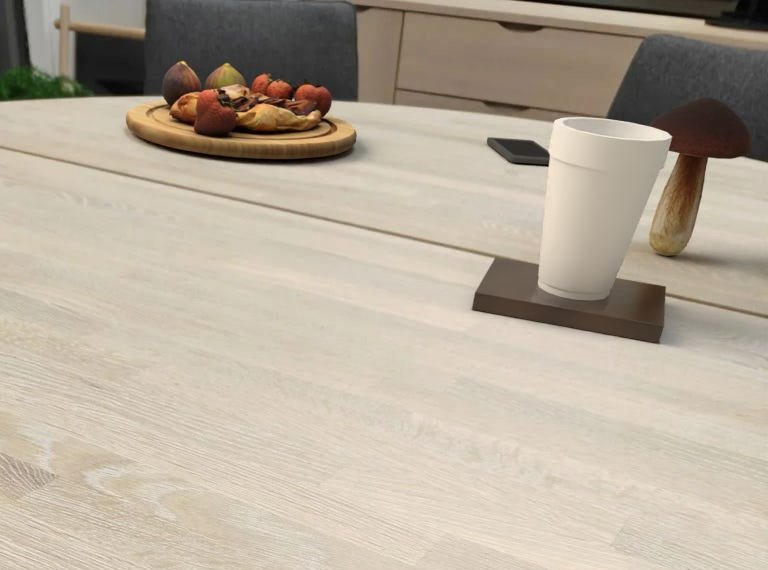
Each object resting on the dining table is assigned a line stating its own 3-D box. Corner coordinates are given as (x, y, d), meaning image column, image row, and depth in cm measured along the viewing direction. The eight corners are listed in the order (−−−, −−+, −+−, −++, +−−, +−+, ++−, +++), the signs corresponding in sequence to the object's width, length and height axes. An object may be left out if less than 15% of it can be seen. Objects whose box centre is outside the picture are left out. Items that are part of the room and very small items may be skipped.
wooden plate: (282, 177, 122) (287, 101, 117) (77, 132, 133) (74, 61, 128) (392, 143, 144) (401, 78, 140) (209, 107, 156) (211, 46, 151)
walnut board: (661, 302, 93) (666, 286, 92) (658, 343, 84) (664, 325, 83) (492, 273, 96) (495, 257, 95) (471, 309, 87) (474, 292, 86)
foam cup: (607, 314, 84) (653, 145, 76) (505, 288, 87) (539, 125, 80) (638, 288, 91) (683, 131, 83) (542, 266, 94) (576, 113, 86)
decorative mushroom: (671, 274, 101) (722, 109, 92) (591, 244, 108) (630, 88, 99) (738, 264, 106) (791, 107, 97) (657, 236, 113) (700, 87, 104)
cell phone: (531, 145, 151) (532, 139, 151) (560, 165, 140) (562, 160, 140) (485, 142, 150) (486, 136, 150) (510, 162, 139) (511, 156, 139)
